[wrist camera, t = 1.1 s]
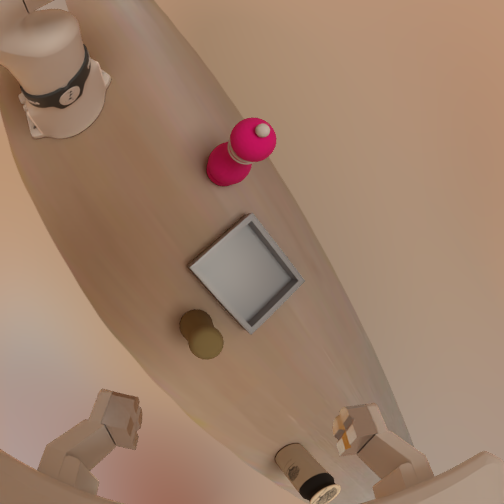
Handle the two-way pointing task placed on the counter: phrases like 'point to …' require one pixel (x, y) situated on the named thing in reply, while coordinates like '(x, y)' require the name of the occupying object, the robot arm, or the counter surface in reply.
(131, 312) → the counter surface
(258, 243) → the tray
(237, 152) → the pepper mill
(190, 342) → the brown pawn
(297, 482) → the travel mug
